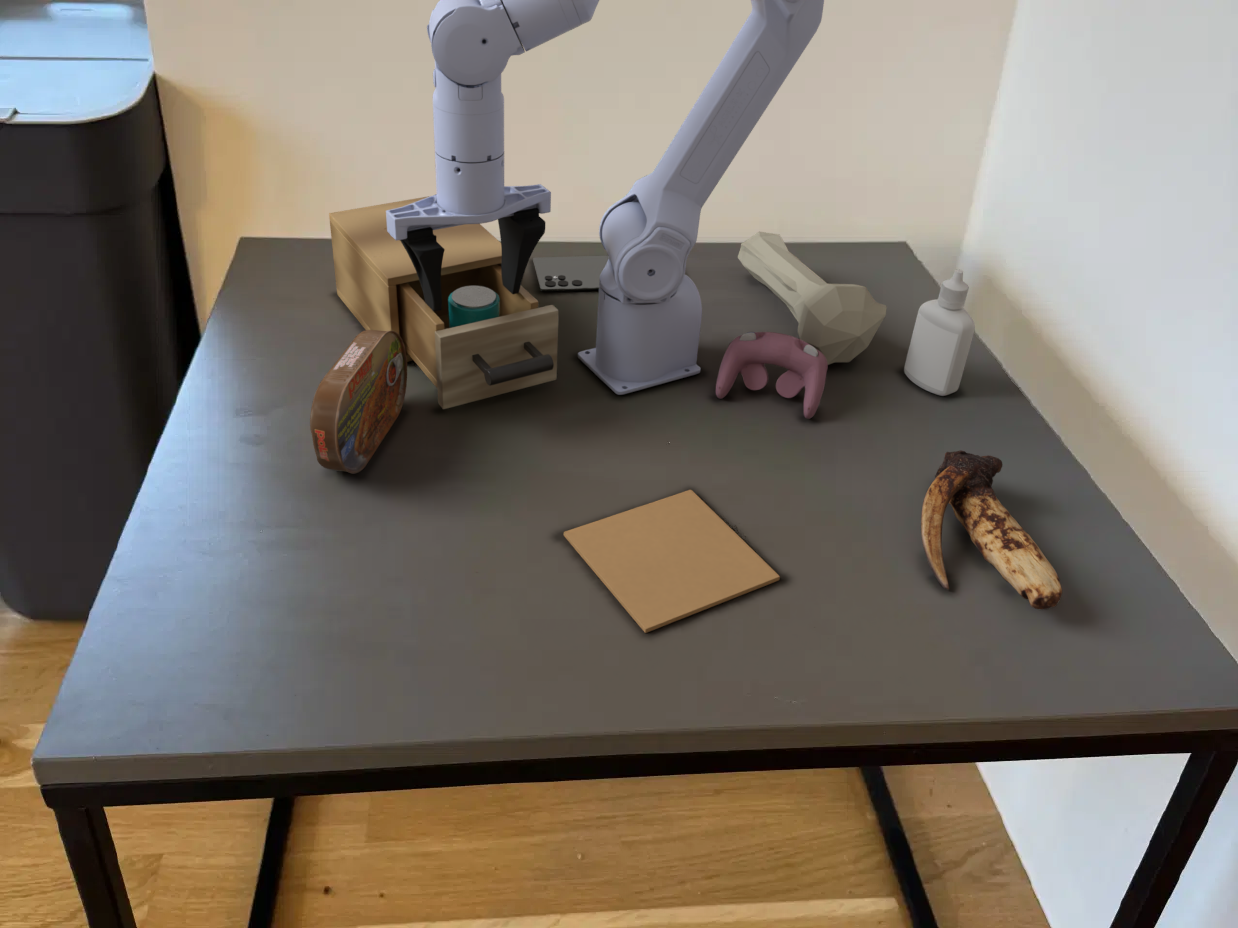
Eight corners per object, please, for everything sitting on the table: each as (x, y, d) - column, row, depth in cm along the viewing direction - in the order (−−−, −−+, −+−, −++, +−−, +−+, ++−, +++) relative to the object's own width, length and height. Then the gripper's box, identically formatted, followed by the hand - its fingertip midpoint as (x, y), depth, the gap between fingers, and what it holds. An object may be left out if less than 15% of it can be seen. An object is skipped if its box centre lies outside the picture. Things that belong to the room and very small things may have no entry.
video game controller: (819, 417, 104) (836, 344, 103) (814, 421, 100) (832, 345, 99) (718, 394, 107) (734, 322, 105) (709, 397, 102) (725, 322, 101)
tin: (347, 494, 89) (337, 406, 84) (310, 487, 89) (298, 400, 84) (412, 396, 101) (407, 314, 96) (380, 391, 101) (373, 309, 96)
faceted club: (801, 377, 105) (705, 271, 125) (873, 388, 109) (769, 284, 129) (838, 293, 101) (732, 197, 121) (911, 308, 105) (798, 213, 124)
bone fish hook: (873, 487, 94) (964, 633, 80) (882, 441, 91) (977, 584, 77) (975, 477, 96) (1082, 619, 81) (987, 432, 93) (1100, 570, 79)
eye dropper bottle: (917, 398, 105) (946, 285, 98) (899, 367, 110) (926, 257, 103) (961, 398, 106) (993, 285, 99) (941, 367, 110) (971, 257, 103)
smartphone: (686, 284, 121) (541, 287, 118) (686, 289, 121) (540, 291, 118) (671, 253, 127) (532, 255, 124) (670, 258, 127) (532, 260, 124)
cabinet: (513, 337, 110) (513, 253, 105) (393, 365, 105) (387, 278, 99) (448, 272, 121) (445, 193, 115) (337, 294, 115) (328, 213, 110)
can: (486, 339, 106) (486, 280, 102) (508, 361, 103) (508, 301, 99) (442, 349, 104) (439, 289, 100) (463, 373, 100) (461, 312, 97)
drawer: (578, 402, 100) (582, 331, 95) (463, 434, 95) (461, 361, 90) (488, 311, 112) (487, 245, 108) (382, 335, 107) (376, 266, 103)
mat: (690, 492, 91) (691, 489, 91) (779, 580, 83) (780, 576, 83) (563, 535, 86) (563, 531, 86) (645, 633, 78) (645, 629, 78)
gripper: (525, 123, 97) (524, 264, 105) (368, 146, 91) (379, 294, 99) (564, 151, 92) (559, 296, 101) (401, 176, 86) (410, 329, 94)
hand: (472, 297), depth 99 cm, fingers open, 7 cm apart
